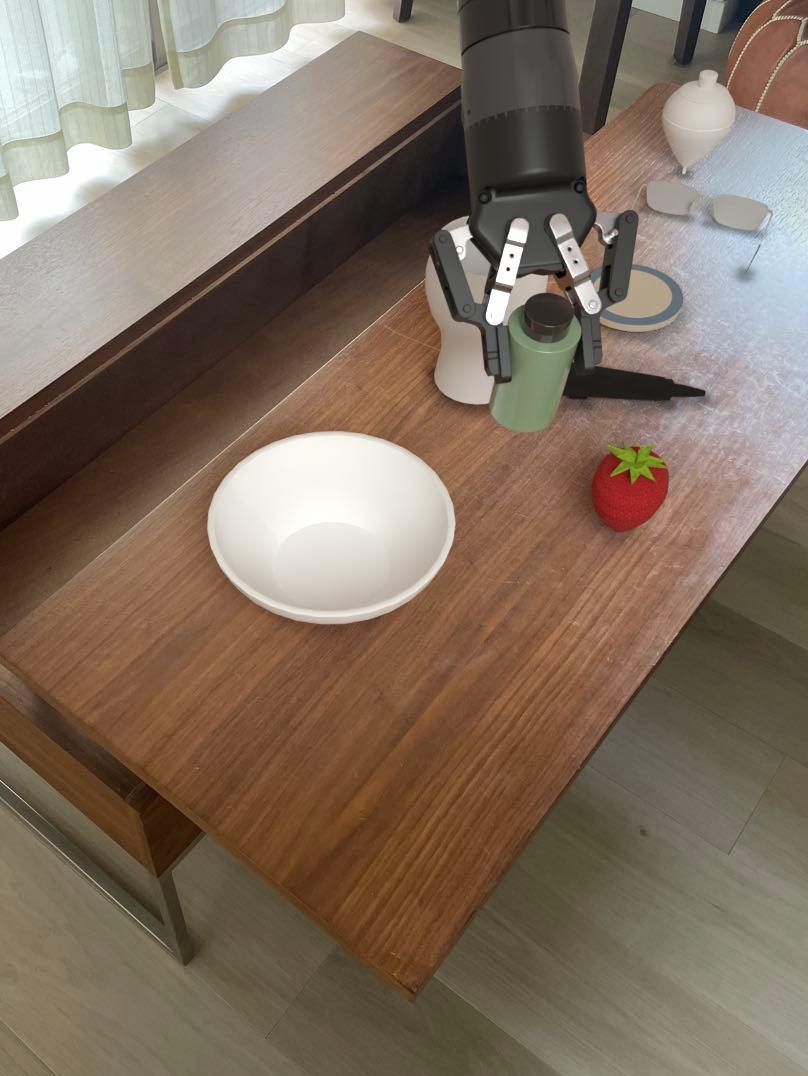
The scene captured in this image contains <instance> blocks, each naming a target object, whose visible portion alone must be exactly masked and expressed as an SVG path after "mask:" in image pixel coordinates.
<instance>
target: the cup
mask: <svg viewBox="0 0 808 1076" xmlns="http://www.w3.org/2000/svg"><path fill="white" fill-rule="evenodd" d="M468 218H469V215H466V216H462V217H459V218H456V219H454V220H452V221H450V222H449V223H447V224H446V225H444V226H443V227H442V228H441V229H440V230H447V231H450V230H453V229H456V228H458V227H461V226H464V225H466V222H467V220H468ZM461 264H462V267H463V270H464V273H465V276H466V279H467V282H468V285H469V288H470V291H471V293H472V296H473V299H474V302H475V303H479V304H482V301H483V297H484V289H485V284H486V280H487V277H488V273H489V269H490V265H491V264H490V263H489V262H488V261H487V259H486V258H485V257H484V256H483V255H482V254H481V252H480V251H479V250H478V249H477V248H476V247H475V246H474V244H473V243H472V242H471V241H470V240H468V241H467V243H466V256H465V257H464V258H463V259H462V260H461ZM424 278H425V279H424V289H425V296H426V298H427V303H428V306H429V310H430V313H431V316H432V318H433V319H434V321H435V323H436V325H437V327H438V328H439V331H440V342H441V347H440V350H439V353H438V356H437V359H436V360H437V361H436V364H435V369H434V372H433V373H434V374H433V378H434V383H435V385H436V387H437V388H438V390H439V391H440V392H441V393H442V394H444V396H446V397H448V398H450V399H452V400H453V401H455V402H459V403H462V404H468V405H487V404H489V399H490V395H491V391H492V387H493V383H494V376H487V374H486V372H485V370H484V362H483V361H484V360H483V351H482V340H481V332H480V330H479V329H478V327H476V326H475V325H472V324H469V323H465V322H456V321H454V320H453V318H452V317H451V314H450V311H449V308H448V305H447V302H446V299H445V296H444V293H443V291H442V288H441V285H440V282H439V279H438V276H437V273H436V270H435V267H434V264H433V262H432V259H431V256H430V255H429V256H428V259H427V262H426V266H425V277H424ZM548 281H549V275H546V276H541V275H535V274H530V275H527V276H525V277H522V278H518V279H515V282H514V286H513V289H512V291H511V293H510V296H509V299H508V303H507V307H506V311H505V315H504V319H503V326H505V325H507V324H508V320H509V317H510V315H511V314H512V312H513V311H514V310H515V309H517V308H518V307H520V306H521V305H524V304H525V303H526V301H527V300H528V299H529V298H530V297H531V296H533V295H535V294H539V293H547V287H548Z"/></svg>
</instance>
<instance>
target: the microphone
mask: <svg viewBox="0 0 808 1076" xmlns="http://www.w3.org/2000/svg"><path fill="white" fill-rule="evenodd" d="M706 394H707V393H706V390H705V389H701V388H698V387H694V386H691V385H687V384H681V383H675V381H674V379H672V378H666V377H665V376H660V375H655V374H648V373H641V372H636V371H630V370H624V369H618V368H617V369H616V368H612V367H605V366H599V365H595V372H594V373H593V374H588V375H580V376H577V375H576V373H575V367H574V361H573V362H572V365H571V369H570V372H569V375H568V378H567V381H566V384H565V387H564V391H563V394H562V397H563V396H564V397H568V398H569V399H571V400H584V401H585V400H588V398H598V399H599V398H600V399H619V400H636V401H656V402H661V401H669V402H670V401H671V400H672V398H703V397H705V396H706Z"/></svg>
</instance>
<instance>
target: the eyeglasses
mask: <svg viewBox="0 0 808 1076" xmlns="http://www.w3.org/2000/svg"><path fill="white" fill-rule="evenodd" d="M643 187H646V202H647V205H648V207H649V208H650V209H651V210H654V211H656V212H659V213H663V214H668V215H674V216H686V215H688V214H689V213H690V212H693V211H695V209H696V208H697V206H698V204H699V203H698V202H699V199H700V198H706V199H711V200H712V205H710V207H709V209H710V215H711V216H712V217H714V220H715V221H716V222H717V223H718V224H720V225H722V226H724V227H728V228H730V229H731V228H732V229H735V230H740V231H745V232H746V231H748V232H749V231H750V232H751V231H755V230H757V229H758V228H759V227H760V226H761V225H762V224H763V222H764V221H765V219H766V217H767V215H768V214H770V216H769V219H768V222H767V224H766V227H765V229H764V232H763V235H762V238H761V240H760V242H759V244H758V246H757V248H756V251H755V253H754V255H753V256H752V259H751V260H750V263H749V265H748V267H747V270H746V272H745V274H747V273H748V271H749V269H750V267H751V265H752V263H753V261H754V259H755V257H756V256H757V254H758V253H759V250H760V248H761V245H762V243H763V240H764V238H765V235H766V232H767V230H768V228H769V225H770V223H771V221H772V218H773V216H774V211H773V210H771V209H769V206H768V205H767V204H766V203H764V202H761V201H758V200H756V199H752V198H748V197H746V196H745V197H744V196H740V195H735V194H726V193H725V194H718V195H716V196H715V197H712V196H707V195H703V194H701V195H700V191H698V190H697V189H696V188H694V187H692V186H690V185H687V184H683V183H678V182H673V181H667V180H656V179H653V180H650V181H648V183H645V182H644V183H642V185H641V186H640V187H639V190H638V192H637V195H636V196H635V199H634V202H633V204H632V205H631V208H630V210H633V208H634V206H635V204H636V203H637V200H638V198H639V195H640V194H641V192H642V190H643Z"/></svg>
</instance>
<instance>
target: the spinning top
mask: <svg viewBox="0 0 808 1076" xmlns="http://www.w3.org/2000/svg"><path fill="white" fill-rule="evenodd" d="M718 73H719V72H717V71H715V70H713V69H704V70H701V71H700V73H699V75H698V80H692V81H688V82H686V83H684V84H682V85H681V86H680V87H679V88H678V89H676V90H675V91H674V92H673V93H672V94H671V95H669V97H668V98H667V100H666V102H665V103H664V105H663V109H662V114H661V123H662V124H661V125H662V128H663V133H664V135H665V139H666V141H667V143H668V145H669V148H670V149H671V151H672V153H673V155H674V157H675V159H676V160H677V162H678V163H679V165H680V166H681V167H682V169H681V170H682V171H681V174H682V175H685V174H686V172H687V169H688V168H689V167H691V166H692V165H694V164H696V163H697V162H699V161H700V160H701V159H703V158H704V157H705V156H707V154H709V153H710V152H711V151H713V150H714V149H715V148H717V146H718V145H719V144H720V143H721V142H722V141H723V140H724V139H725V137H726V136H727V135H728V134H729V133H730V131H731V130H732V128H733V125H734V123H735V120H736V114H737V108H736V104H735V101H734V98H733V96H732V95H731V93H730V91H729V89H728V88H727V87H725V86H724V85H723V84H721V83H719V82H717V80H718V77H719V74H718Z"/></svg>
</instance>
